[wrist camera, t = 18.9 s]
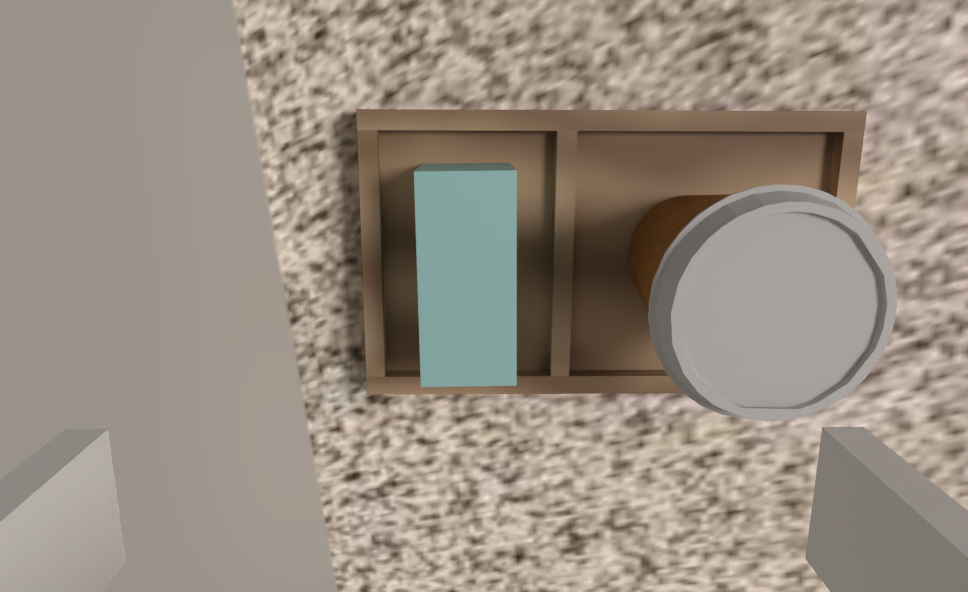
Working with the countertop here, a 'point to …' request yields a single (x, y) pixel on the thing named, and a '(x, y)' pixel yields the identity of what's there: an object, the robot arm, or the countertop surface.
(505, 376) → the teal rectangular block
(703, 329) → the disposable coffee cup
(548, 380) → the divided compartment tray
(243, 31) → the countertop surface
